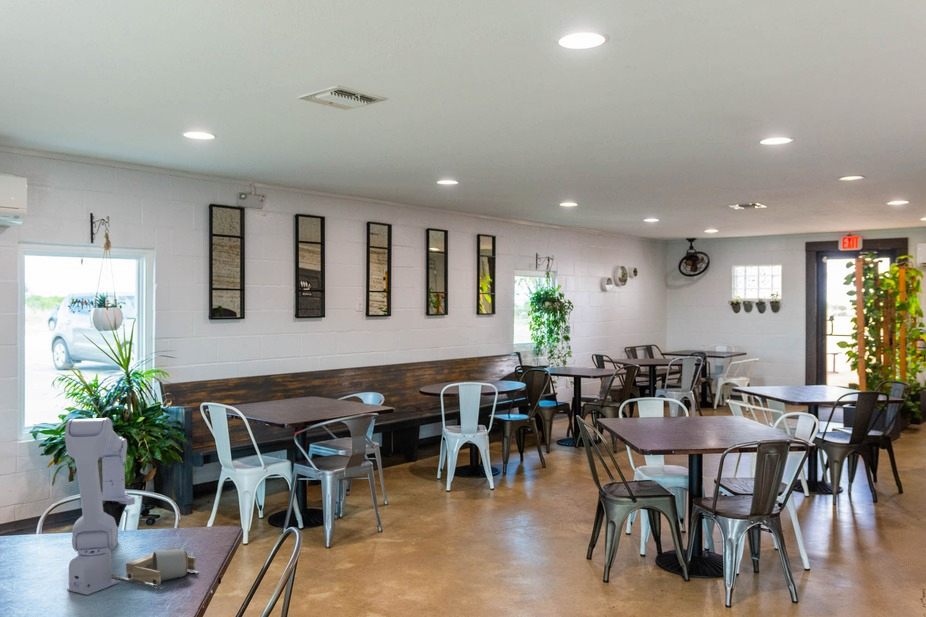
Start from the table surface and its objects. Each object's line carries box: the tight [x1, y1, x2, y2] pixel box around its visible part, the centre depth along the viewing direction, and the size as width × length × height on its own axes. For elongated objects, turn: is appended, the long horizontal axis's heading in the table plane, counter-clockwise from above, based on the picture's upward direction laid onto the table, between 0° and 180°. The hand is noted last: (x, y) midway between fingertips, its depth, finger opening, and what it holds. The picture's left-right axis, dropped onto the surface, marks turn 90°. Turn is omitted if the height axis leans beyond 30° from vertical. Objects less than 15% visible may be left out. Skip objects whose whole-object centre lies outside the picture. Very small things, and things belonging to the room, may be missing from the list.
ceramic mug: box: [152, 548, 189, 582], centre depth 202 cm, size 11×8×8 cm
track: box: [111, 570, 199, 589], centre depth 203 cm, size 13×23×1 cm, turn 63°
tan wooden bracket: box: [125, 546, 196, 585], centre depth 203 cm, size 15×12×4 cm
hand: (114, 527), depth 214 cm, fingers closed
